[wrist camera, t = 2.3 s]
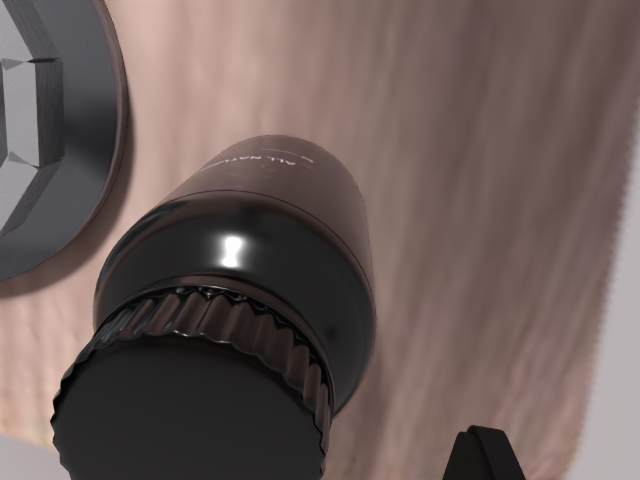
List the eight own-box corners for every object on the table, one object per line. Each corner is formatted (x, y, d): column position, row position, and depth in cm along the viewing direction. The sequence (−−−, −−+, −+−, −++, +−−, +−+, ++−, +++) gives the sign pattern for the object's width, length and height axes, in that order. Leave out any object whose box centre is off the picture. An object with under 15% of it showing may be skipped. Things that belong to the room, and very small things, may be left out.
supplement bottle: (281, 91, 18) (179, 168, 6) (401, 226, 19) (483, 471, 8) (156, 211, 20) (-92, 431, 8) (275, 325, 21) (201, 635, 10)
